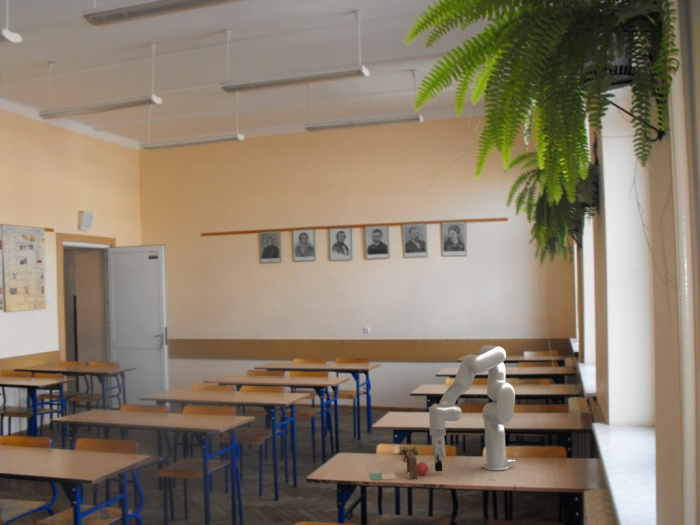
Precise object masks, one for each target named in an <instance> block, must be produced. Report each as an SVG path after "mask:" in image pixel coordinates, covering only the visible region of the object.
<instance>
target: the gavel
mask: <svg viewBox="0 0 700 525" xmlns="http://www.w3.org/2000/svg"><path fill="white" fill-rule="evenodd" d="M411 451H412V452H413V453H414V455H415V456H418V455H420V447H419V446H414V447H413V446H405V445H404V446H403V445H401V446H400V447H399V455H402V456H403V455H405V456H404V458H403V460H404V462H406V461H407V456H406V452H411Z"/></svg>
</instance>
